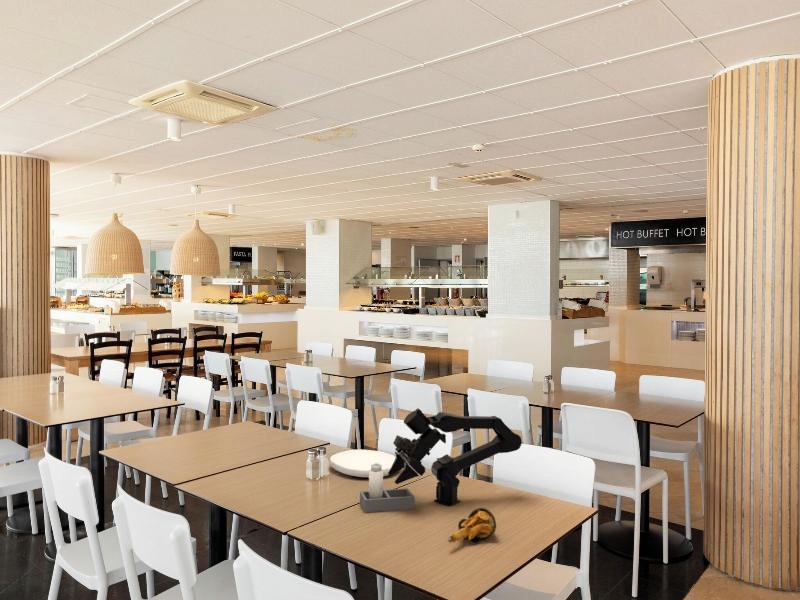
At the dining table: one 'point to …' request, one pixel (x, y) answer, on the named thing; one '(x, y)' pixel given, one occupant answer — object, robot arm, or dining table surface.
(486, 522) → the fried shrimp in bowl
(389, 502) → the condiment caddy
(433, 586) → the dining table surface
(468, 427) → the robot arm
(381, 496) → the salt mill
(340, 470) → the plate
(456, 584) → the dining table surface
